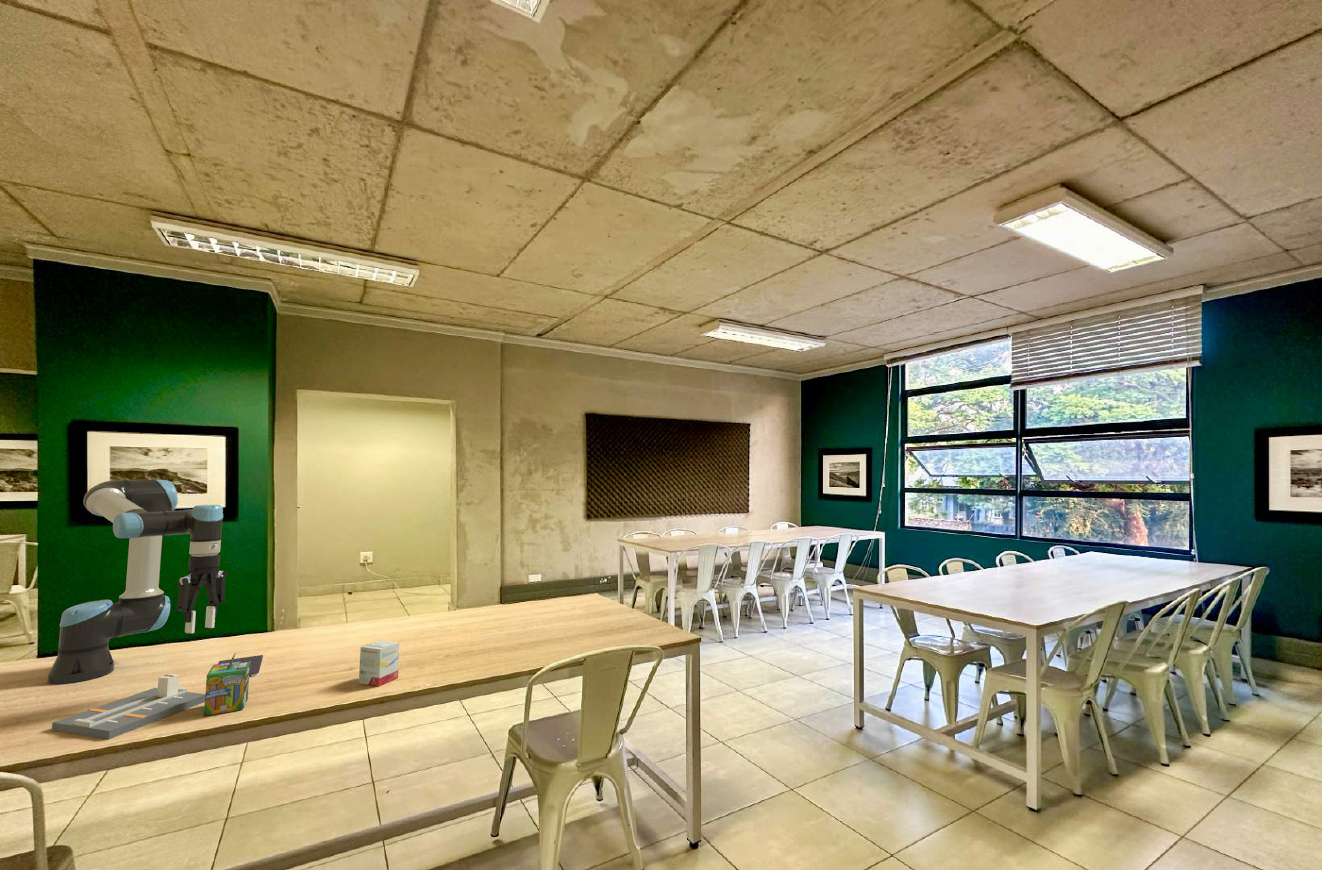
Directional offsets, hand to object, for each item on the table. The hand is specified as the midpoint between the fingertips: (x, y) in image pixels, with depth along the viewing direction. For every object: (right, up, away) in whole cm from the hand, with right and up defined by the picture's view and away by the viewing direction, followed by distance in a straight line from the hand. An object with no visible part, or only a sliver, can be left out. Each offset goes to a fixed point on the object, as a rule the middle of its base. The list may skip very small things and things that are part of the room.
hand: (199, 629), depth 170 cm
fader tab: (-2, -16, -9) cm, 19 cm away
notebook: (-2, -21, +18) cm, 28 cm away
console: (-4, -18, -17) cm, 25 cm away
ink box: (+51, -20, +10) cm, 56 cm away
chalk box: (+18, -18, -12) cm, 28 cm away
